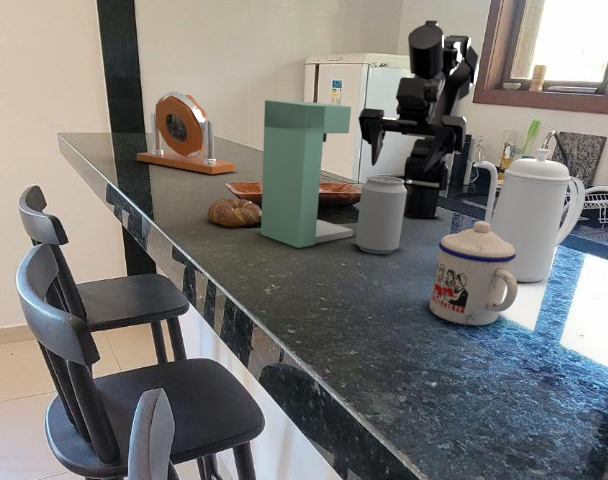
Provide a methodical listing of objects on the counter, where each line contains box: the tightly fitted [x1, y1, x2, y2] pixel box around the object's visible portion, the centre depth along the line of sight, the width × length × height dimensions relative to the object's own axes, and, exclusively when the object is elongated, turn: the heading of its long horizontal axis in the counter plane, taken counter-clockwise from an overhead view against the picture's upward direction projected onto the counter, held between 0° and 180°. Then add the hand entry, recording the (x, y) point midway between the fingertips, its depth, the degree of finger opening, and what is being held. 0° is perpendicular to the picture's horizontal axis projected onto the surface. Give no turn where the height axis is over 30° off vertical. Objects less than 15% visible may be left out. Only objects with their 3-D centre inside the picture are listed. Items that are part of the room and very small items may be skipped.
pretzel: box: [207, 197, 262, 228], centre depth 103 cm, size 12×11×4 cm
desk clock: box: [136, 91, 236, 176], centre depth 154 cm, size 12×30×20 cm, turn 58°
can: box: [355, 175, 408, 255], centre depth 90 cm, size 8×8×12 cm
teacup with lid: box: [429, 220, 519, 326], centre depth 65 cm, size 12×9×12 cm
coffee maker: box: [260, 99, 354, 249], centre depth 93 cm, size 14×10×22 cm
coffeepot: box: [472, 148, 586, 283], centre depth 81 cm, size 11×25×19 cm, turn 117°
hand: (397, 167), depth 93 cm, fingers open, 9 cm apart
